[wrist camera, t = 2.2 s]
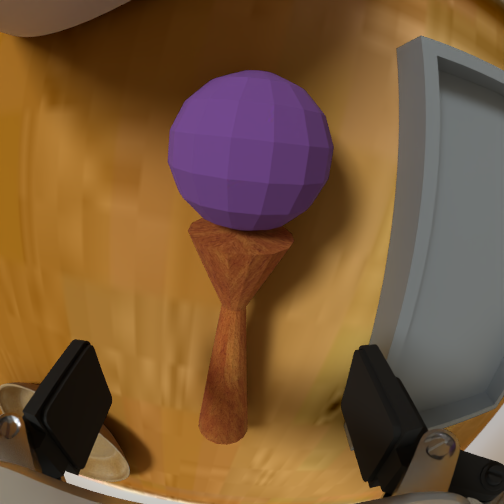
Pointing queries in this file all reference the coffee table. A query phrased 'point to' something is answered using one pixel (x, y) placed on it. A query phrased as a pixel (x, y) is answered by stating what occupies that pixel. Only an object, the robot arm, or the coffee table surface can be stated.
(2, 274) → the coffee table surface
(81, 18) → the container
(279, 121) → the kendama
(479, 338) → the tray
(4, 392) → the plant saucer
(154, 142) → the coffee table surface
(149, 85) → the coffee table surface
